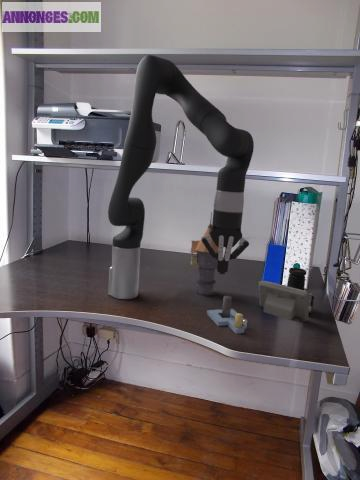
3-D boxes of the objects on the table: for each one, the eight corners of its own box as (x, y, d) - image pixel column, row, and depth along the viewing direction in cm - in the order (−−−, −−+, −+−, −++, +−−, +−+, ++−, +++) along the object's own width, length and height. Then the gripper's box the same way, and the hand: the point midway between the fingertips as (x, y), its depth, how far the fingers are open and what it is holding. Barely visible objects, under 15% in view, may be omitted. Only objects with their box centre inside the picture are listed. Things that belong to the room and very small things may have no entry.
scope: (316, 276, 115) (283, 270, 119) (309, 318, 118) (278, 311, 122) (318, 270, 122) (287, 265, 126) (313, 310, 125) (282, 303, 129)
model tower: (187, 291, 135) (194, 209, 129) (218, 293, 134) (225, 211, 129) (186, 300, 126) (193, 212, 120) (219, 303, 125) (227, 215, 119)
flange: (207, 314, 111) (208, 299, 110) (232, 312, 114) (233, 298, 113) (225, 334, 99) (227, 317, 98) (253, 332, 101) (255, 316, 100)
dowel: (241, 329, 103) (242, 320, 102) (242, 327, 104) (243, 318, 103) (245, 330, 103) (246, 321, 102) (246, 328, 104) (247, 319, 103)
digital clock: (310, 322, 114) (315, 289, 112) (295, 329, 108) (300, 295, 106) (266, 306, 126) (270, 275, 124) (250, 311, 120) (254, 280, 118)
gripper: (203, 208, 92) (197, 275, 95) (256, 212, 92) (248, 279, 95) (202, 205, 99) (196, 267, 103) (251, 209, 99) (244, 271, 102)
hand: (221, 273), depth 99 cm, fingers closed
